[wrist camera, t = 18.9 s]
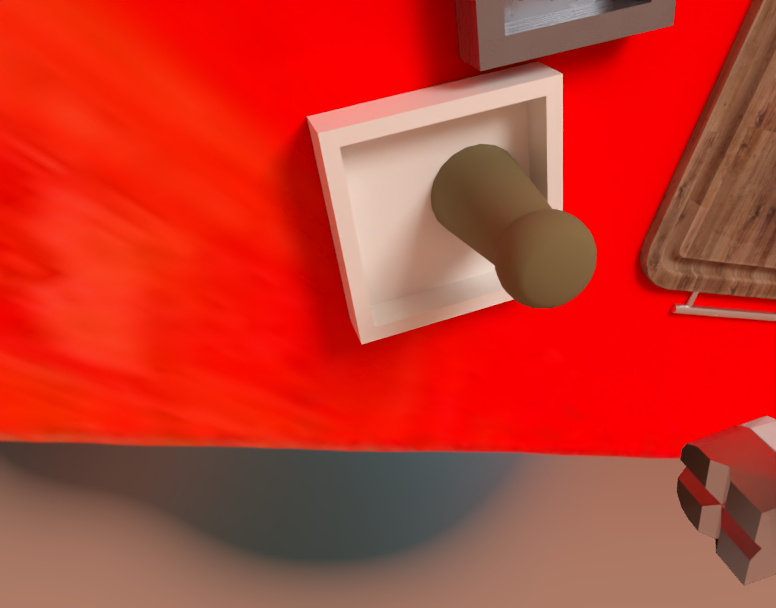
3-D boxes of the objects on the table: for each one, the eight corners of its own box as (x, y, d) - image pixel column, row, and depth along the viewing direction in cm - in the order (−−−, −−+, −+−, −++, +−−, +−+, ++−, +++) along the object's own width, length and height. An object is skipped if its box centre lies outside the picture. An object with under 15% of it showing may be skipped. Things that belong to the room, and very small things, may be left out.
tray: (350, 319, 46) (361, 344, 44) (306, 116, 39) (317, 133, 36) (541, 263, 49) (562, 284, 46) (537, 61, 41) (562, 73, 38)
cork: (511, 128, 42) (611, 200, 33) (527, 213, 45) (620, 299, 36) (420, 165, 41) (495, 249, 33) (442, 248, 45) (516, 344, 36)
